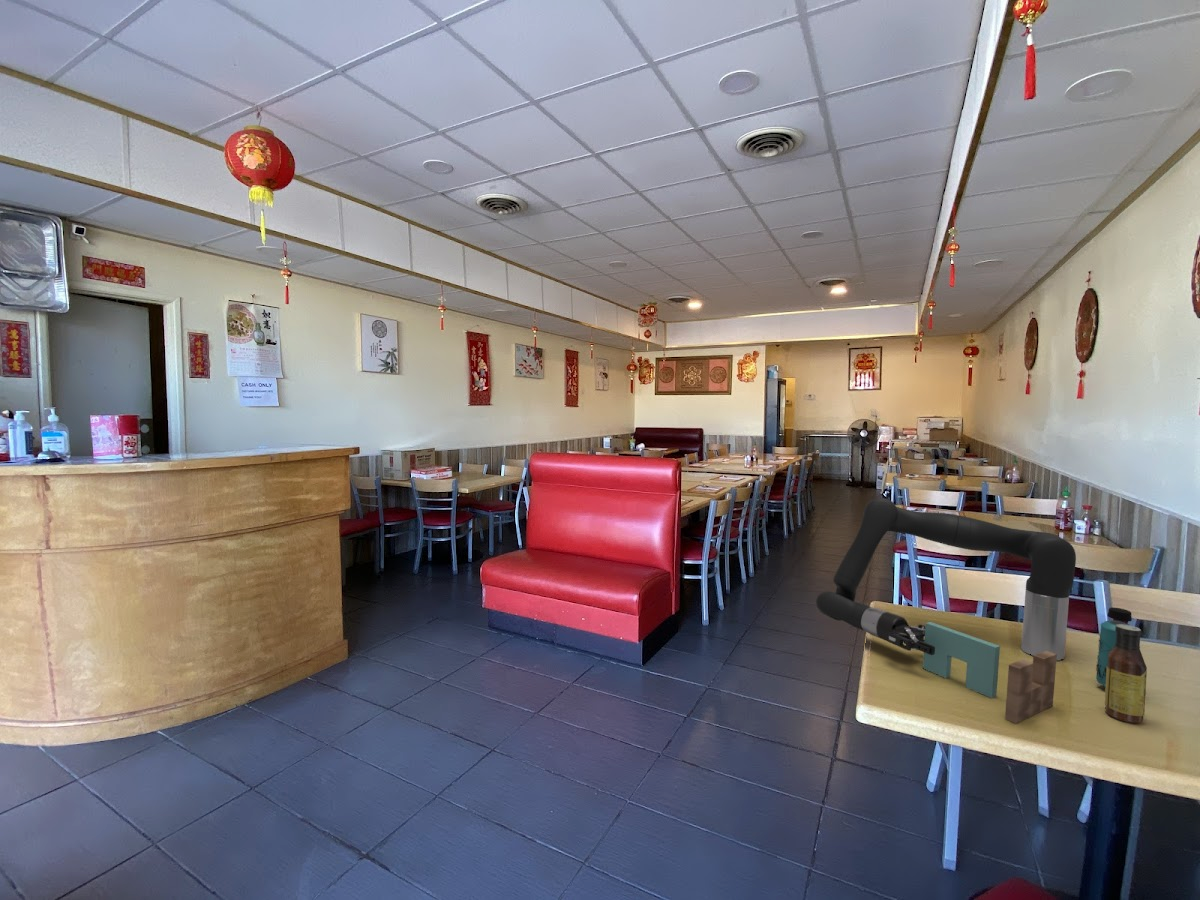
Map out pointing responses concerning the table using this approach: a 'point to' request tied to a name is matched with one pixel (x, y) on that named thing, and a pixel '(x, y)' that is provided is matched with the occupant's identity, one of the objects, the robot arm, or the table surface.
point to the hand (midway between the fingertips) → (944, 648)
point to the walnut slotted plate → (1030, 686)
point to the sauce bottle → (1126, 676)
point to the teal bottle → (1109, 640)
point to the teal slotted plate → (963, 657)
